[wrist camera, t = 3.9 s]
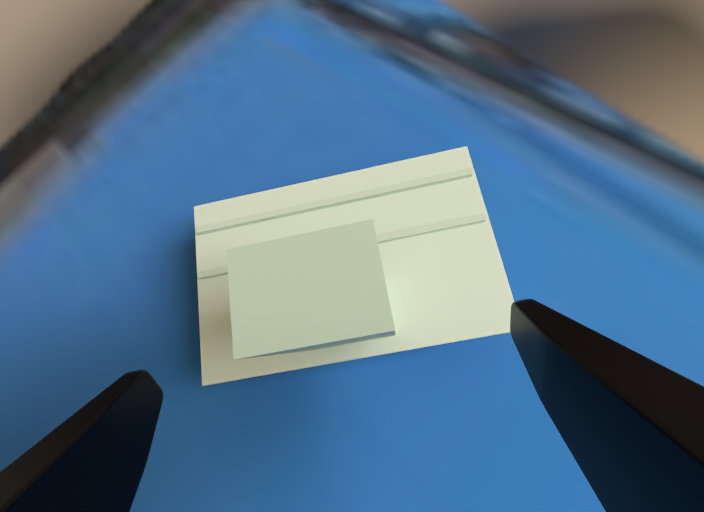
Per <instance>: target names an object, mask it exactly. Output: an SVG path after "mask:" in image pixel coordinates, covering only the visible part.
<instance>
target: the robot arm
mask: <svg viewBox="0 0 704 512" xmlns="http://www.w3.org/2000/svg"><path fill="white" fill-rule="evenodd" d="M510 332H511V336H512V338H513V341H514V343H515V345H516V347H517V350H518V352H519V354H520V356H521V358H522V361H523V363H524V365H525V367H526V369H527V372H528V374H529V376H530V378H531V381H532V383H533V385H534V387H535V389H536V391H537V394H538V396H539V398H540V400H541V402H542V403H543V405H544V407H545V409H546V411H547V412H548V414H549V416H550V417H551V419H552V421H553V422H554V424H555V426H556V428H557V429H558V431H559V433H560V434H561V436H562V438H563V439H564V441H565V443H566V445H567V446H568V448H569V450H570V451H571V453H572V455H573V456H574V458H575V460H576V462H577V463H578V465H579V467H580V468H581V470H582V472H583V473H584V475H585V477H586V479H587V480H588V482H589V484H590V485H591V487H592V489H593V490H594V492H595V494H596V496H597V497H598V499H599V501H600V502H601V504H602V506H603V507H604V509H605V511H606V512H704V387H703V386H701V385H699V384H697V383H696V382H694V381H692V380H690V379H688V378H686V377H684V376H682V375H680V374H678V373H676V372H674V371H672V370H670V369H668V368H666V367H664V366H662V365H660V364H658V363H656V362H654V361H652V360H651V359H649V358H647V357H645V356H643V355H641V354H639V353H637V352H635V351H633V350H631V349H629V348H627V347H625V346H623V345H621V344H619V343H617V342H615V341H613V340H611V339H609V338H607V337H606V336H604V335H602V334H600V333H598V332H596V331H594V330H592V329H590V328H588V327H586V326H584V325H582V324H580V323H578V322H576V321H574V320H572V319H570V318H568V317H566V316H564V315H562V314H561V313H559V312H557V311H555V310H553V309H551V308H549V307H547V306H545V305H543V304H541V303H539V302H537V301H535V300H533V299H525V300H519V301H515V302H513V303H512V305H511V316H510ZM162 401H163V392H162V389H161V388H160V386H159V385H158V384H157V383H156V381H155V380H154V379H153V377H152V376H151V375H150V374H149V372H147V371H146V370H137V371H131V372H128V373H126V374H124V375H123V376H122V377H120V378H119V379H118V380H117V381H115V382H114V383H113V384H111V385H110V386H109V387H108V388H106V389H105V390H104V391H103V392H101V393H100V394H99V395H98V396H96V397H95V398H94V399H92V400H91V401H90V402H89V403H87V404H86V405H85V406H84V407H82V408H81V409H80V410H79V411H77V412H76V413H75V414H73V415H72V416H71V417H70V418H68V419H67V420H66V421H65V422H63V423H62V424H61V425H60V426H58V427H57V428H56V429H55V430H53V431H52V432H51V433H49V434H48V435H47V436H46V437H44V438H43V439H42V440H41V441H39V442H38V443H37V444H36V445H34V446H33V447H32V448H30V449H29V450H28V451H27V452H25V453H24V454H23V455H22V456H20V457H19V458H18V459H17V460H15V461H14V462H13V463H11V464H10V465H9V466H8V467H6V468H5V469H4V470H3V471H1V472H0V512H130V509H131V506H132V503H133V500H134V497H135V495H136V492H137V489H138V486H139V483H140V480H141V478H142V475H143V472H144V469H145V466H146V463H147V459H148V456H149V452H150V448H151V444H152V440H153V436H154V433H155V429H156V425H157V421H158V417H159V413H160V409H161V405H162Z"/></svg>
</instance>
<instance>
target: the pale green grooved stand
mask: <svg viewBox="0 0 704 512" xmlns="http://www.w3.org/2000/svg"><path fill="white" fill-rule="evenodd" d="M194 217H195V239H196V261H197V283H198V305H199V327H200V349H201V371H202V386H205V385H211V384H217V383H223V382H228V381H234V380H240V379H245V378H251V377H257V376H262V375H268V374H274V373H280V372H285V371H291V370H297V369H302V368H308V367H314V366H319V365H325V364H331V363H337V362H342V361H348V360H354V359H359V358H365V357H371V356H376V355H382V354H388V353H394V352H399V351H405V350H411V349H416V348H422V347H428V346H433V345H439V344H445V343H451V342H456V341H462V340H468V339H473V338H479V337H485V336H490V335H496V334H502V333H508V332H510V316H511V305H512V303H513V302H514V299H513V296H512V293H511V289H510V286H509V283H508V279H507V276H506V273H505V270H504V266H503V263H502V260H501V256H500V253H499V250H498V247H497V243H496V240H495V237H494V234H493V230H492V227H491V224H490V220H489V217H488V214H487V211H486V207H485V204H484V201H483V197H482V194H481V191H480V188H479V184H478V181H477V178H476V174H475V171H474V168H473V165H472V161H471V158H470V155H469V152H468V148H467V146H466V147H461V148H457V149H452V150H447V151H443V152H438V153H434V154H429V155H425V156H420V157H416V158H411V159H407V160H402V161H398V162H393V163H389V164H384V165H380V166H375V167H371V168H366V169H362V170H357V171H353V172H348V173H344V174H339V175H335V176H330V177H325V178H321V179H316V180H312V181H307V182H303V183H298V184H294V185H289V186H285V187H280V188H276V189H271V190H267V191H262V192H258V193H253V194H249V195H244V196H240V197H235V198H231V199H226V200H222V201H217V202H213V203H208V204H203V205H199V206H194Z"/></svg>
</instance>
